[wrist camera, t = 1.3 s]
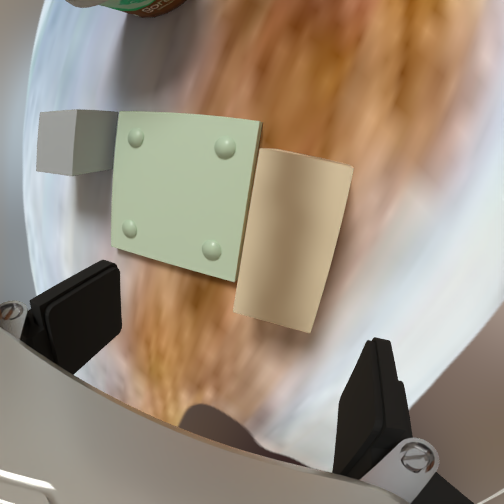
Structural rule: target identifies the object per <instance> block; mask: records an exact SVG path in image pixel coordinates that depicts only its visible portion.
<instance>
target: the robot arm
mask: <svg viewBox="0 0 504 504" xmlns="http://www.w3.org/2000/svg"><path fill="white" fill-rule="evenodd" d="M30 305H31V309H30V310H29V311H28V309H27V306H26V305H25V304H24V303H22V302H20V301H8V302H4V303H2V304H0V504H474V503H473V502H471V501H470V500H469V499H468V498H467V497H465V496H464V495H463V494H462V493H461V492H459V491H458V490H457V489H455V487H453V486H452V485H451V484H450V483H449V482H447V481H446V480H445V479H444V478H443V477H441V476H440V475H439V474H438V473H437V472H436V471H437V468H438V466H439V457H438V453H437V451H436V450H435V448H434V447H433V446H432V445H431V444H430V443H428V442H426V441H424V440H422V439H419V438H413V437H412V431H411V423H410V417H409V410H408V405H407V399H406V393H405V388H404V384H403V382H402V381H398V377H397V371H396V366H395V361H394V356H393V351H392V347H391V342H390V341H389V340H385V339H380V338H376V337H374V338H373V340H372V341H370V340H367V342H366V344H365V346H364V348H363V350H362V353H361V355H360V357H359V359H358V361H357V364H356V366H355V368H354V370H353V372H352V374H351V377H350V379H349V381H348V383H347V385H346V387H345V389H344V391H343V393H342V395H341V397H340V401H339V408H338V422H337V434H336V445H335V455H334V464H333V472H332V473H330V472H325V471H321V470H317V469H312V468H308V467H303V466H299V465H294V464H290V463H286V462H282V461H278V460H275V459H271V458H267V457H264V456H260V455H257V454H253V453H250V452H247V451H243V450H240V449H237V448H234V447H230V446H227V445H224V444H221V443H218V442H216V441H213V440H210V439H207V438H204V437H202V436H199V435H196V434H194V433H191V432H188V431H186V430H183V429H181V428H178V427H176V426H174V425H171V424H169V423H166V422H164V421H162V420H159V419H157V418H155V417H153V416H150V415H148V414H146V413H144V412H142V411H140V410H138V409H135V408H133V407H131V406H129V405H127V404H125V403H123V402H121V401H119V400H117V399H115V398H114V397H112V396H110V395H108V394H106V393H104V392H102V391H100V390H99V389H97V388H95V387H93V386H91V385H90V384H88V383H86V382H84V381H83V380H81V379H79V378H78V377H76V376H74V374H75V373H76V372H77V371H78V370H79V369H80V368H81V367H82V366H84V365H85V364H86V363H87V362H88V361H89V360H90V359H91V358H92V357H93V356H95V355H96V354H97V353H98V352H99V351H100V350H101V349H102V348H103V347H105V346H106V345H107V344H108V343H109V342H110V341H111V340H112V339H114V338H115V337H116V336H117V335H118V334H119V333H120V331H121V329H122V318H121V296H120V271H119V269H118V268H117V265H116V264H115V263H112V262H109V261H106V260H101V261H99V262H97V263H95V264H93V265H92V266H90V267H88V268H86V269H84V270H82V271H81V272H79V273H77V274H75V275H73V276H71V277H70V278H68V279H66V280H64V281H63V282H61V283H59V284H57V285H55V286H54V287H52V288H50V289H48V290H47V291H45V292H43V293H42V294H40V295H38V296H36V297H35V298H33V299H31V300H30Z"/></svg>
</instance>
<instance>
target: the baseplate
mask: <svg viewBox="0 0 504 504" xmlns="http://www.w3.org/2000/svg"><path fill="white" fill-rule="evenodd" d="M262 123H263V122H260V121H253V120H246V119H238V118H229V117H220V116H209V115H198V114H184V113H167V112H138V111H119V117H118V125H117V134H116V144H115V155H114V168H113V185H112V210H111V246H112V247H115V248H118V249H121V250H125V251H128V252H131V253H135V254H138V255H141V256H145V257H148V258H151V259H155V260H158V261H161V262H165V263H168V264H172V265H175V266H179V267H182V268H186V269H189V270H193V271H196V272H200V273H203V274H207V275H210V276H214V277H218V278H221V279H225V280H228V281H232V282H235V281H236V280H237V278H238V274H239V268H240V261H241V255H242V248H243V242H244V235H245V229H246V223H247V216H248V210H249V204H250V197H251V191H252V185H253V178H254V172H255V166H256V160H257V154H258V147H259V141H260V135H261V129H262Z"/></svg>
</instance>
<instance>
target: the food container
mask: <svg viewBox="0 0 504 504" xmlns="http://www.w3.org/2000/svg"><path fill="white" fill-rule="evenodd" d="M66 1H67V2H69V3H70V4H72V5H73V6H75V7H80V8H86V7H92V6H96V5H101V6H105V7H109V8H112V9H116V10H119V11H123V12H126V13H129V14H132V15H136V16H139V17H142V18H148V17H157V16H160V15H163V14H166V13H168V12H170V11H172V10H174V9H175V8H177V7H179V6H180V5H181V4H183V3H184V2H185V1H186V0H66Z"/></svg>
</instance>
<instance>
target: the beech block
mask: <svg viewBox="0 0 504 504" xmlns="http://www.w3.org/2000/svg"><path fill="white" fill-rule="evenodd" d="M353 170H354V168H353V167H352V166H351V165H349V164H345V163H341V162H337V161H332V160H328V159H324V158H319V157H314V156H310V155H305V154H300V153H295V152H290V151H285V150H280V149H263V148H260V149H259V155H258V161H257V167H256V173H255V179H254V185H253V191H252V197H251V203H250V209H249V215H248V221H247V227H246V233H245V239H244V245H243V252H242V258H241V264H240V270H239V276H238V283H237V289H236V295H235V301H234V308H233V312H235V313H238V314H241V315H245V316H248V317H252V318H255V319H259V320H262V321H266V322H269V323H273V324H277V325H280V326H284V327H288V328H291V329H295V330H299V331H303V332H307V333H311V330H312V326H313V323H314V320H315V317H316V313H317V310H318V307H319V304H320V300H321V297H322V293H323V290H324V286H325V283H326V279H327V276H328V272H329V269H330V265H331V261H332V258H333V254H334V250H335V246H336V242H337V239H338V235H339V231H340V227H341V223H342V218H343V214H344V210H345V206H346V202H347V197H348V193H349V188H350V184H351V179H352V175H353Z"/></svg>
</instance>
